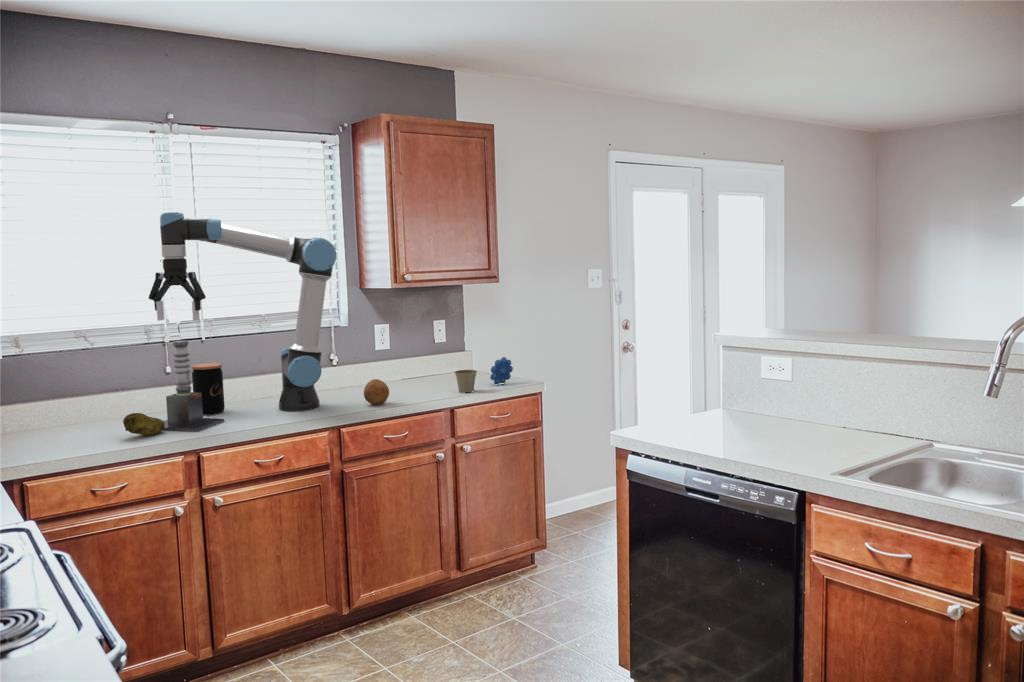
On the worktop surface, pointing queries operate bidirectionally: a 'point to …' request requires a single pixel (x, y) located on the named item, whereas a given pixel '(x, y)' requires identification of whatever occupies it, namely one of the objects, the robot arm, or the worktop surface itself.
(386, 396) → the brown ball
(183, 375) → the column
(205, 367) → the coffee jar
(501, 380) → the grapes
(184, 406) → the stand
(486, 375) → the worktop surface
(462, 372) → the flower pot
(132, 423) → the potato
